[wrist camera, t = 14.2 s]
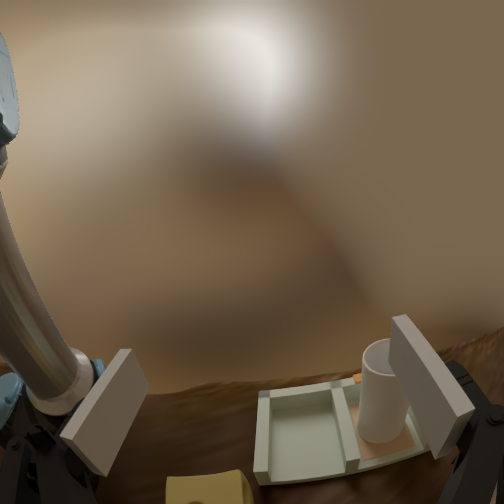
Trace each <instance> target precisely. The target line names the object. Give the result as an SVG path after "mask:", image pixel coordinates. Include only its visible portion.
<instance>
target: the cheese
mask: <svg viewBox="0 0 504 504" xmlns="http://www.w3.org/2000/svg"><path fill="white" fill-rule="evenodd" d="M166 504H254V501H253V495H252V491H251V488H250V486H249V483H248V481H247V479H246V478H245V476H244V475H243V473H242V472H241V471H240V470H233V471H228V472H224V473H219V474H212V475H202V476H188V477H167V482H166Z"/></svg>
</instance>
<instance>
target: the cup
mask: <svg viewBox="0 0 504 504" xmlns="http://www.w3.org/2000/svg"><path fill="white" fill-rule="evenodd" d="M389 348H390V339H384V340H380V341H377V342H375V343H373V344H371V345H370V346H369V347H368V348H367V349H366V350H365V352H364V354H363V361H362V378H361V392H360V404H359V414H358V422H357V431H358V433H359V435H360V436H361V437H362V438H363V439H364V440H366V441H368V442H370V443H376V444H381V443H386V442H389V441H391V440H393V439H395V438H396V437H397V436H398V435H399V434H400V433H401V431H402V429H403V426H404V423H405V419H406V416H407V412H408V409H409V405H410V404H409V402H408V400H407V398H406V396H405V394H404V392H403V390H402V388H401V386H400V384H399V382H398V380H397V378H396V376H395V374H394V372H393V370H392V368H391V366H390V364H389V362H388V358H389Z"/></svg>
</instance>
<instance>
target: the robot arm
mask: <svg viewBox="0 0 504 504" xmlns="http://www.w3.org/2000/svg"><path fill="white" fill-rule="evenodd" d="M18 111H19V105H18V97H17V90H16V83H15V78H14V72H13V68H12V63H11V59H10V55H9V52H8V49H7V45H6V43H5V40H4V38H3V36H2V35H1V33H0V179H1V177H2V174H3V172H4V170H5V168H6V165H7V163H8V158H7V152H6V146H5V145H7V144H9V142H10V141H12V140H13V139H14V138H15V137H16V135H17V134H18V130H19V114H18ZM0 355H1V356H2V357H3V359H4V360H5V361H6V362H7V363H8V365H9V366H10V367H11V368H12V369H13V371H14V372H15V373H16V374H15V373H8V374H5V375H3V376H1V377H0V445H1V446H2V447H3V448H4V449H5V454H4V458H3V462H2V467H1V471H0V504H97V501H96V498H95V496H94V491H95V489H96V487H97V484H98V475H102V476H105V477H107V475H108V472H109V470H110V468H111V466H112V464H113V462H114V460H115V457H116V455H117V453H118V451H119V449H120V447H121V445H122V443H123V441H124V439H125V437H126V435H127V432H128V430H129V428H130V426H131V424H132V422H133V420H134V418H135V416H136V414H137V412H138V410H139V408H140V406H141V404H142V402H143V400H144V398H145V396H146V394H147V392H148V390H149V388H150V386H149V384H148V382H147V380H146V378H145V376H144V374H143V372H142V370H141V367H140V366H139V363H138V361H137V359H136V357H135V354H134V352H133V350H132V349H121V350H120V351H119V352H118V353H117V355H116V356H115V357H114V359H113V360H112V361H111V363H110V364H109V365H108V367H107V368H106V367H105V364H104V362H103V361H102V360H101V359H92V360H90V361H89V359H88V358H87V357H86V356H85V355H84V354H83V353H82V352H81V351H79V350H77V349H75V348H72V347H68V345H67V344H66V342H65V341H64V339H63V337H62V336H61V334H60V332H59V331H58V329H57V327H56V326H55V324H54V322H53V320H52V319H51V316H50V315H49V313H48V311H47V309H46V308H45V305H44V303H43V301H42V300H41V298H40V296H39V294H38V292H37V290H36V288H35V285H34V283H33V281H32V279H31V277H30V274H29V272H28V270H27V268H26V266H25V263H24V261H23V258H22V256H21V253H20V251H19V248H18V245H17V243H16V240H15V237H14V235H13V232H12V229H11V226H10V223H9V220H8V217H7V214H6V210H5V207H4V204H3V200H2V196H1V193H0ZM388 362H389V364H390V366H391V368H392V370H393V372H394V374H395V376H396V378H397V380H398V382H399V384H400V386H401V388H402V390H403V392H404V394H405V396H406V398H407V400H408V402H409V404H410V406H411V408H412V410H413V412H414V414H415V416H416V418H417V421H418V423H419V425H420V427H421V429H422V431H423V434H424V436H425V438H426V440H427V443H428V445H429V447H430V450H431V452H432V454H433V457H434V459H438V458H440V457H442V456H445V455H447V454H449V453H451V452H452V451H453V449H454V447H455V446H456V445H457V447H458V449H459V452H458V454H457V455H456V457H455V458H454V460H453V462H452V463H451V464H454V465H453V468H452V470H451V473H450V475H449V478H448V480H447V482H446V485H445V487H444V489H443V492H442V494H441V496H440V498H439V500H438V502H437V504H490V501H491V498H492V495H493V492H494V489H495V486H496V482H497V479H498V484H497V496H496V504H504V407H503V406H500V405H497V404H496V405H492V404H491V403H490V402H489V400H488V399H487V397H486V396H485V395H484V393H483V392H482V391H481V389H480V388H479V386H478V385H477V384H476V382H475V381H473V379H472V377H471V376H470V375H469V373H468V372H467V371H466V369H465V368H464V367H463V366H462V365H460V364H459V363H457V362H455V361H454V360H453V361H450V362H448V363H445V364H444V363H443V361H442V360H441V359H440V357H439V356H438V355H437V353H436V352H435V351H434V349H433V348H432V347H431V345H430V344H429V343H428V342H427V340H426V339H425V338H424V337H423V335H422V334H421V333H420V331H419V330H418V329H417V328H416V326H415V325H414V324H413V323H412V321H411V320H410V319H409V318H408V317H407V315H406V314H405V315H400V316H396V317H392V323H391V337H390V348H389V358H388ZM23 382H24V383H23ZM27 473H28V475H29V476H30V478H31V479H29V478H28V477H27Z"/></svg>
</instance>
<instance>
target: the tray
mask: <svg viewBox="0 0 504 504" xmlns="http://www.w3.org/2000/svg"><path fill="white" fill-rule="evenodd" d="M361 378H362V373H360V374H355V375H353V377H352V378H347V379H342V380H337V381H331V382H326V383H320V384H314V385H307V386H300V387H293V388H285V389H277V390H267V391H259V399H258V414H257V429H256V443H255V457H254V470H253V472H254V474H255V477H256V479H257V481H258V484H259V485H277V484H289V483H299V482H308V481H315V480H322V479H328V478H334V477H340V476H345V475H350V474H354V473H359V472H363V471H367V470H371V469H375V468H379V467H382V466H386V465H389V464H392V463H396V462H399V461H402V460H405V459H408V458H411V457H414V456H416V455H419V454H422V453H425V452H427V451H430V447H429V445H428V443H427V440H426V438H425V436H424V434H423V431H422V429H421V427H420V425H419V423H418V421H417V418H416V416H415V414H414V412H413V410H412V408H411V406H410V405H409V409H408V412H407V416H406V419H405V423H404V426H403V429H402V431H401V433H400V434H399V435H398V436H397V437H396V438H395V439H393V440H391V441H389V442H386V443H381V444H376V443H370V442H368V441H366V440H364V439H363V438H362V437H361V436H360V435H359V433H358V431H357V422H358V414H359V404H360V392H361Z"/></svg>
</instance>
